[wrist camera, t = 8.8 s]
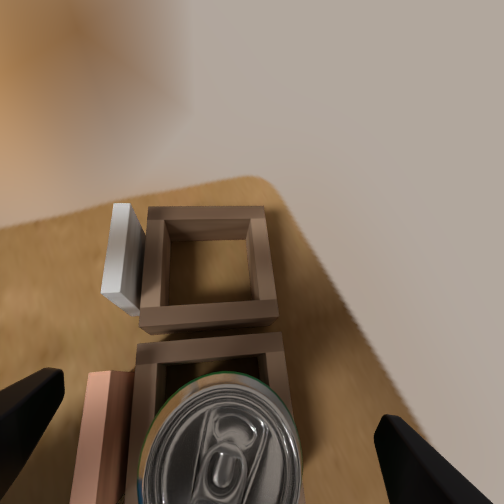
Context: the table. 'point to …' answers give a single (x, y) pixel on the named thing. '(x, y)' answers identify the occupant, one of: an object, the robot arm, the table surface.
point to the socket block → (167, 322)
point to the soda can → (221, 446)
